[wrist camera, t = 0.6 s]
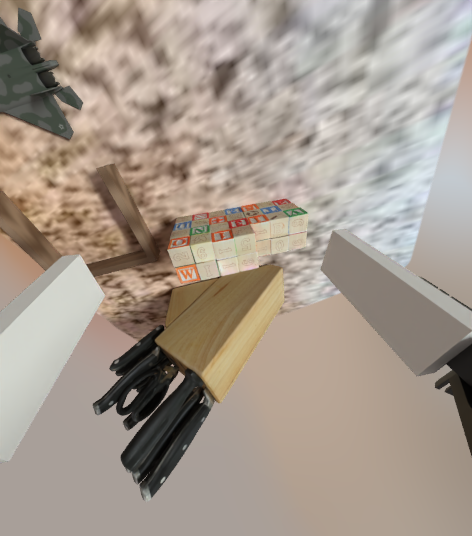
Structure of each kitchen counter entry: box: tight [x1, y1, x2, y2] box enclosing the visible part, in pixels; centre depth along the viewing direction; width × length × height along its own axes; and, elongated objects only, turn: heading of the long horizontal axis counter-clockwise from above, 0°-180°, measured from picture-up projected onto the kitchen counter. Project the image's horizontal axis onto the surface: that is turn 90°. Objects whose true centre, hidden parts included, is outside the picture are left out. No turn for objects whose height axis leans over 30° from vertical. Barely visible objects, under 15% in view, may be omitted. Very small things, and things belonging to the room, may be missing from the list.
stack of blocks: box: [167, 199, 308, 284], centre depth 32 cm, size 21×6×12 cm, turn 98°
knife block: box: [93, 265, 284, 502], centre depth 34 cm, size 11×35×31 cm, turn 101°
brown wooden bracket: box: [0, 164, 160, 277], centre depth 31 cm, size 16×18×4 cm
